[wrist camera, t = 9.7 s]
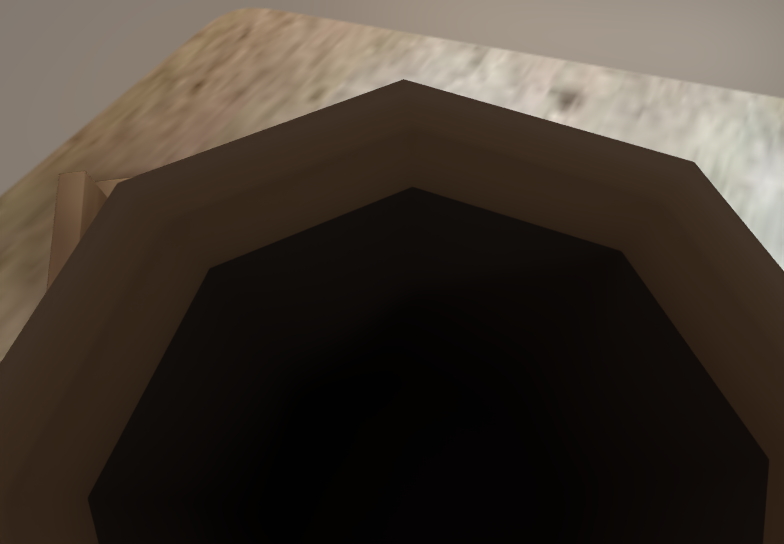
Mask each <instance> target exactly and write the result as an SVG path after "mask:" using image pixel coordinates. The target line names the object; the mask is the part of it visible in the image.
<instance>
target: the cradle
mask: <svg viewBox="0 0 784 544" xmlns="http://www.w3.org/2000/svg"><path fill="white" fill-rule="evenodd" d="M132 178H133V177H132ZM127 179H130V178H123V179H114V180H105V181H95V182H94V181H93V180H92V178H91V177H90V176H89V175H88V174H87V172H86V171H80V172H71V173H62V174H59V179H58V189H57V198H56V208H55V217H54V227H53V236H52V246H51V255H50V265H49V274H48V284H47V291H48V289H49V288H50V286H51V285H52V283H53V281H54V280H55V278H56V277H57V275H58V274H59V272H60V271H61V269H62V268H63V266H64V265H65V263H66V261H67V260H68V258H69V257H70V255H71V254H72V252H73V251H74V249H75V248H76V246H77V244H78V243H79V241H80V240H81V238H82V237H83V235H84V234H85V232H86V231H87V229H88V228H89V226H90V224H91V223H92V221H93V220H94V218H95V217H96V215H97V214H98V212H99V211H100V209H101V207H102V206H103V204H104V203H105V201H106V200H107V198H108V197H109V195H110V194H111V192H112V191H113V189H114V187H115V186H116V184H117V183H119V182H122V181H124V180H127Z"/></svg>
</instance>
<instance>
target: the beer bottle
mask: <svg viewBox="0 0 784 544" xmlns="http://www.w3.org/2000/svg"><path fill="white" fill-rule="evenodd" d="M0 544H784V271H783V270H782V268H781V267H780V266H779V265H778V264H777V262H776V261H775V260H774V259H773V258H772V256H771V255H770V254H769V253H768V251H767V250H766V249H765V248H764V247H763V245H762V244H761V243H760V242H759V240H758V239H757V238H756V237H755V236H754V234H753V233H752V232H751V231H750V230H749V228H748V227H747V226H746V225H745V223H744V222H743V221H742V220H741V219H740V217H739V216H738V215H737V214H736V212H735V211H734V210H733V209H732V208H731V206H730V205H729V204H728V203H727V202H726V200H725V199H724V198H723V197H722V195H721V194H720V193H719V192H718V191H717V189H716V188H715V187H714V186H713V184H712V183H711V182H710V181H709V180H708V178H707V177H706V176H705V175H704V174H703V172H702V171H701V170H700V169H699V167H698V166H697V165H696V164H695V163H694V162H692V161H689V160H685V159H682V158H678V157H675V156H671V155H668V154H664V153H660V152H657V151H653V150H650V149H646V148H643V147H639V146H636V145H632V144H629V143H625V142H622V141H618V140H615V139H611V138H608V137H604V136H601V135H597V134H594V133H590V132H587V131H583V130H580V129H576V128H573V127H569V126H566V125H562V124H559V123H555V122H552V121H548V120H545V119H541V118H538V117H534V116H531V115H527V114H524V113H520V112H517V111H513V110H509V109H506V108H502V107H499V106H495V105H492V104H488V103H485V102H481V101H478V100H474V99H471V98H467V97H464V96H460V95H457V94H453V93H450V92H446V91H443V90H439V89H436V88H432V87H429V86H425V85H422V84H418V83H415V82H411V81H408V80H404V79H403V80H401V81H398V82H395V83H392V84H390V85H387V86H384V87H381V88H379V89H376V90H373V91H370V92H367V93H365V94H362V95H359V96H356V97H354V98H351V99H348V100H345V101H343V102H340V103H337V104H334V105H332V106H329V107H326V108H323V109H321V110H318V111H315V112H312V113H309V114H307V115H304V116H301V117H298V118H296V119H293V120H290V121H287V122H285V123H282V124H279V125H276V126H274V127H271V128H268V129H265V130H262V131H260V132H257V133H254V134H251V135H249V136H246V137H243V138H240V139H238V140H235V141H232V142H229V143H227V144H224V145H221V146H218V147H216V148H213V149H210V150H207V151H204V152H202V153H199V154H196V155H193V156H191V157H188V158H185V159H182V160H180V161H177V162H174V163H171V164H169V165H166V166H163V167H160V168H157V169H155V170H152V171H149V172H146V173H144V174H141V175H138V176H135V177H133V178H130V179H127V180H124V181H122V182H119V183H117V184H116V186H115V187H114V189H113V191H112V192H111V194H110V195H109V197H108V198H107V200H106V201H105V203H104V204H103V206H102V207H101V209H100V211H99V212H98V214H97V215H96V217H95V218H94V220H93V221H92V223H91V224H90V226H89V228H88V229H87V231H86V232H85V234H84V235H83V237H82V238H81V240H80V241H79V243H78V244H77V246H76V248H75V249H74V251H73V252H72V254H71V255H70V257H69V258H68V260H67V261H66V263H65V265H64V266H63V268H62V269H61V271H60V272H59V274H58V275H57V277H56V278H55V280H54V281H53V283H52V285H51V286H50V288H49V289H48V291H47V292H46V294H45V295H44V297H43V298H42V300H41V301H40V303H39V305H38V306H37V308H36V309H35V311H34V312H33V314H32V315H31V317H30V318H29V320H28V322H27V323H26V325H25V326H24V328H23V329H22V331H21V332H20V334H19V335H18V337H17V338H16V340H15V342H14V343H13V345H12V346H11V348H10V349H9V351H8V352H7V354H6V355H5V357H4V359H3V360H2V362H1V363H0Z"/></svg>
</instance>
